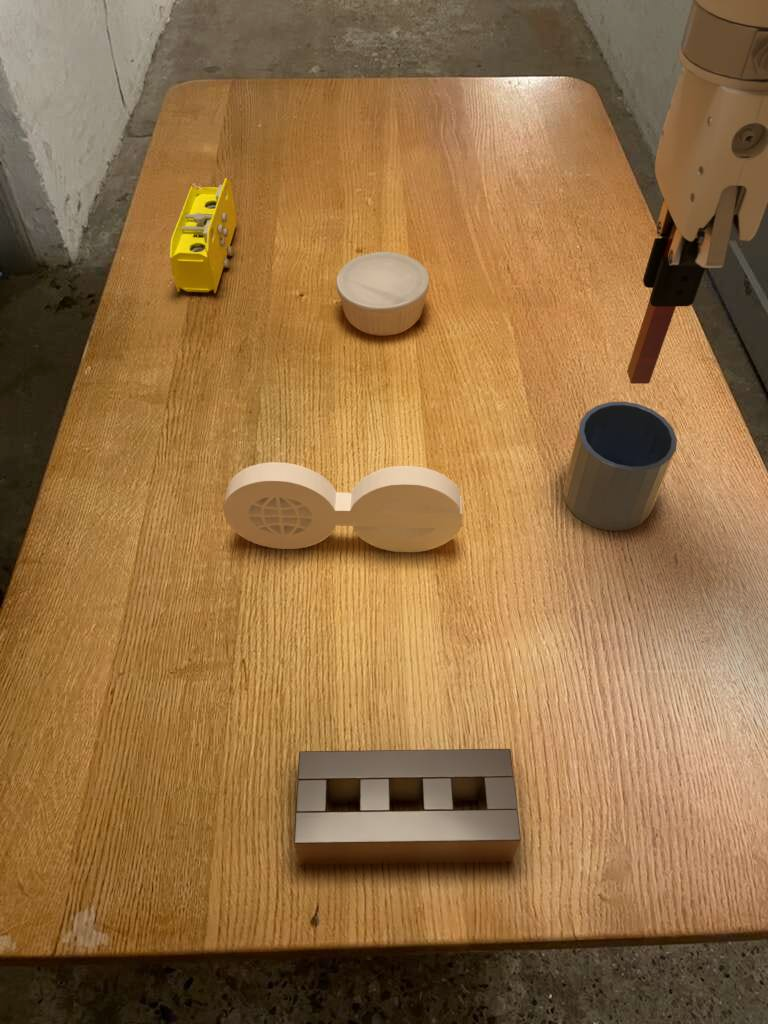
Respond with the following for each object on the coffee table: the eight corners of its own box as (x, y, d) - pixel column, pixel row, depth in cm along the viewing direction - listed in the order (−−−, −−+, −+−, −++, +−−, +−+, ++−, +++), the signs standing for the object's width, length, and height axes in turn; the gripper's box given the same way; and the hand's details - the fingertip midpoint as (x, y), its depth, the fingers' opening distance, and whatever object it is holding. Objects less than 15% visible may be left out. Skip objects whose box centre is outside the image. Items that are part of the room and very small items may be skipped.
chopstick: (649, 384, 70) (700, 236, 59) (630, 384, 70) (678, 236, 59) (645, 371, 71) (695, 223, 60) (626, 371, 71) (673, 223, 60)
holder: (512, 862, 63) (521, 840, 59) (299, 864, 63) (293, 843, 59) (503, 773, 67) (510, 748, 63) (303, 776, 67) (298, 750, 63)
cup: (669, 516, 84) (696, 455, 77) (591, 541, 82) (610, 481, 75) (622, 454, 89) (643, 392, 82) (547, 477, 87) (562, 415, 80)
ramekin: (337, 343, 100) (335, 307, 96) (338, 287, 108) (336, 251, 103) (430, 342, 101) (432, 306, 97) (424, 286, 108) (426, 250, 104)
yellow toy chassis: (220, 298, 106) (210, 240, 100) (176, 296, 106) (162, 238, 100) (241, 227, 116) (232, 170, 110) (200, 226, 116) (189, 169, 110)
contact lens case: (231, 547, 81) (216, 479, 73) (235, 529, 83) (219, 460, 75) (458, 553, 81) (466, 485, 73) (457, 535, 82) (465, 467, 74)
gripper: (861, 98, 45) (744, 362, 59) (771, -13, 55) (689, 236, 69) (722, 99, 45) (639, 363, 59) (656, -13, 55) (599, 236, 69)
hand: (666, 293), depth 64 cm, fingers closed on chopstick, 1 cm apart
